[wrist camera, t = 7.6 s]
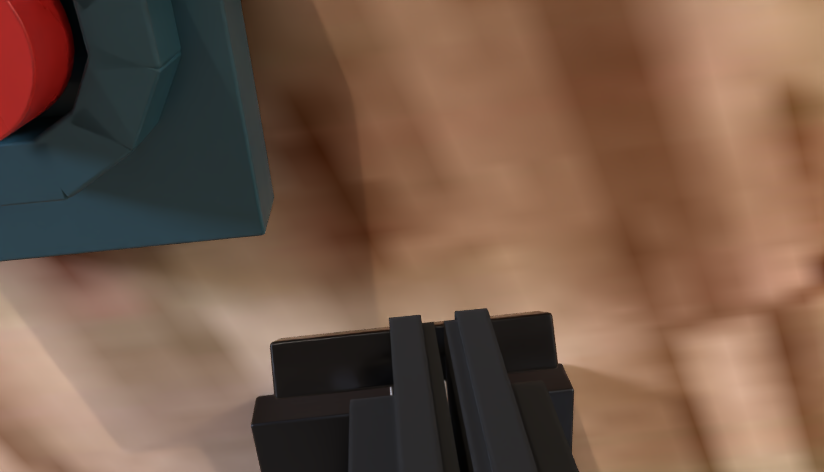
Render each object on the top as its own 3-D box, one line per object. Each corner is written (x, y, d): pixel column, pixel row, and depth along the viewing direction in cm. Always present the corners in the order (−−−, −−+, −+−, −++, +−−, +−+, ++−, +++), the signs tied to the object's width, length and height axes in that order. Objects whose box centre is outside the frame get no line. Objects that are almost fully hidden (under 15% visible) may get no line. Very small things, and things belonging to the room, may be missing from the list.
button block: (-240, -254, 13) (-466, -315, 9) (192, -284, 13) (134, -353, 10) (-49, 230, 17) (-153, 316, 14) (275, 199, 18) (256, 274, 14)
